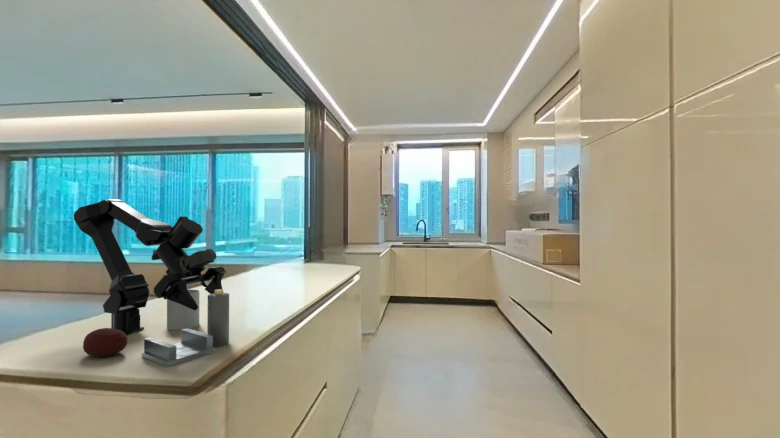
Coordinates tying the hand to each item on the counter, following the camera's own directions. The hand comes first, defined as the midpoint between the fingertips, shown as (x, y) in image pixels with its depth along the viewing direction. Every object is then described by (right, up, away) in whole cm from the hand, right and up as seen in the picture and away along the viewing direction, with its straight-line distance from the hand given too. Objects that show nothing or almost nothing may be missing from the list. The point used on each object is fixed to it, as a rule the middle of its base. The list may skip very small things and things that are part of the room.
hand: (211, 305), depth 96 cm
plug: (-1, -10, 0) cm, 10 cm away
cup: (-16, -10, +15) cm, 24 cm away
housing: (-4, -10, -8) cm, 13 cm away
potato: (-20, -10, -9) cm, 24 cm away
